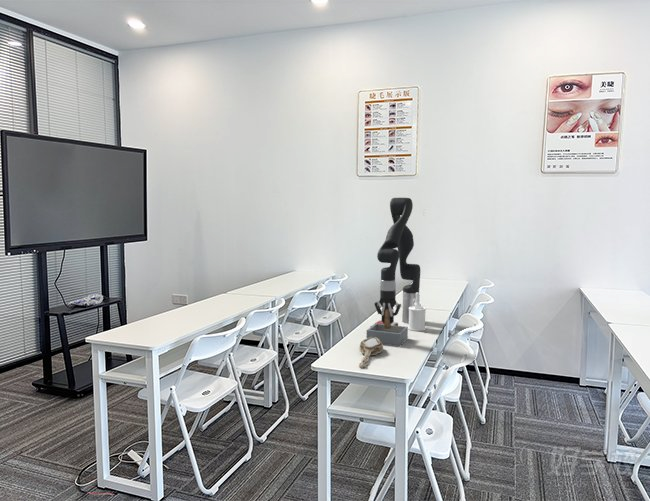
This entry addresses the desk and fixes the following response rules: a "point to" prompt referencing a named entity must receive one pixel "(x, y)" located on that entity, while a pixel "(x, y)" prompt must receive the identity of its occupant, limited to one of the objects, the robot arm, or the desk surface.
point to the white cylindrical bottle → (417, 315)
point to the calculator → (383, 323)
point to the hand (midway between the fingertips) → (387, 322)
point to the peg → (387, 319)
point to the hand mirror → (369, 349)
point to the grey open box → (388, 334)
